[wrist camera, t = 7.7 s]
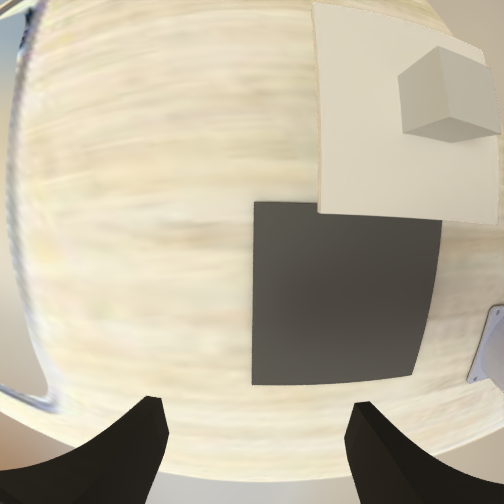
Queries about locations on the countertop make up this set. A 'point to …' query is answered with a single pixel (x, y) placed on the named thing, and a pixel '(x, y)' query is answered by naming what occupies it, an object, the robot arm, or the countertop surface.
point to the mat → (338, 294)
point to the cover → (403, 120)
